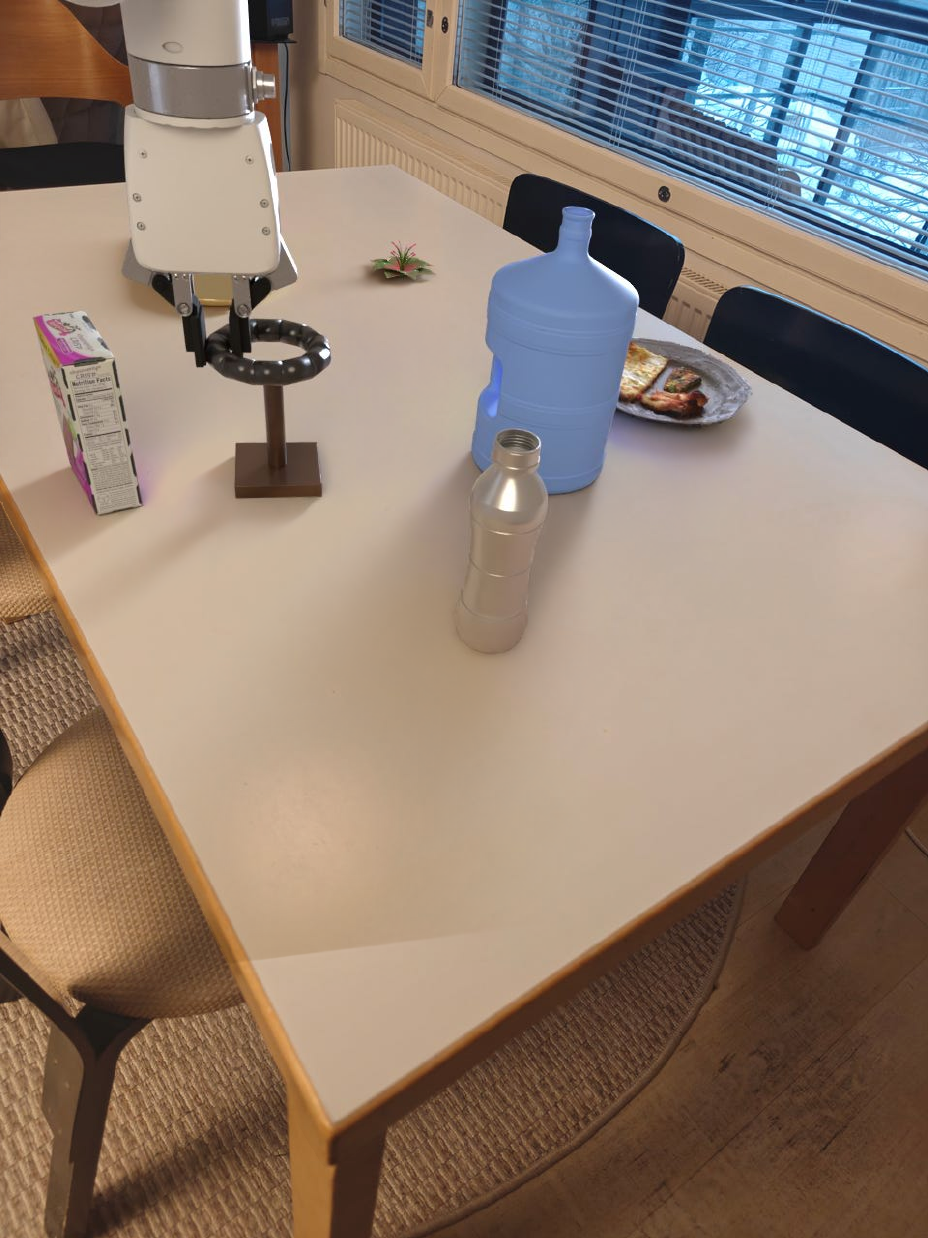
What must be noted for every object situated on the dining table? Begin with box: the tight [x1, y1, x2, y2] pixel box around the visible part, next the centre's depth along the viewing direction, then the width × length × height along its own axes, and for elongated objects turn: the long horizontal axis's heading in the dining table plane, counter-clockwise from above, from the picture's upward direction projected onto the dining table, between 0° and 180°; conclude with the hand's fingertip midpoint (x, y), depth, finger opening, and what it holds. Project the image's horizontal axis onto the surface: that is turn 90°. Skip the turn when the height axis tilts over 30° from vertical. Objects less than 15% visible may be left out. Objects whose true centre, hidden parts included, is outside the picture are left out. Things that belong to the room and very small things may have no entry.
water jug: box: [470, 206, 640, 495], centre depth 93 cm, size 16×16×28 cm
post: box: [233, 385, 323, 499], centre depth 91 cm, size 9×9×12 cm
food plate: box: [615, 337, 753, 429], centre depth 118 cm, size 25×23×4 cm
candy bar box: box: [32, 310, 144, 517], centre depth 85 cm, size 11×5×16 cm, turn 32°
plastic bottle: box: [454, 429, 550, 654], centre depth 71 cm, size 6×7×20 cm
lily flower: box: [369, 240, 437, 281], centre depth 144 cm, size 12×12×5 cm
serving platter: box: [171, 273, 273, 307], centre depth 138 cm, size 19×35×2 cm, turn 17°
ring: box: [205, 318, 332, 387], centre depth 67 cm, size 10×10×2 cm
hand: (220, 358), depth 67 cm, fingers closed on ring, 2 cm apart
